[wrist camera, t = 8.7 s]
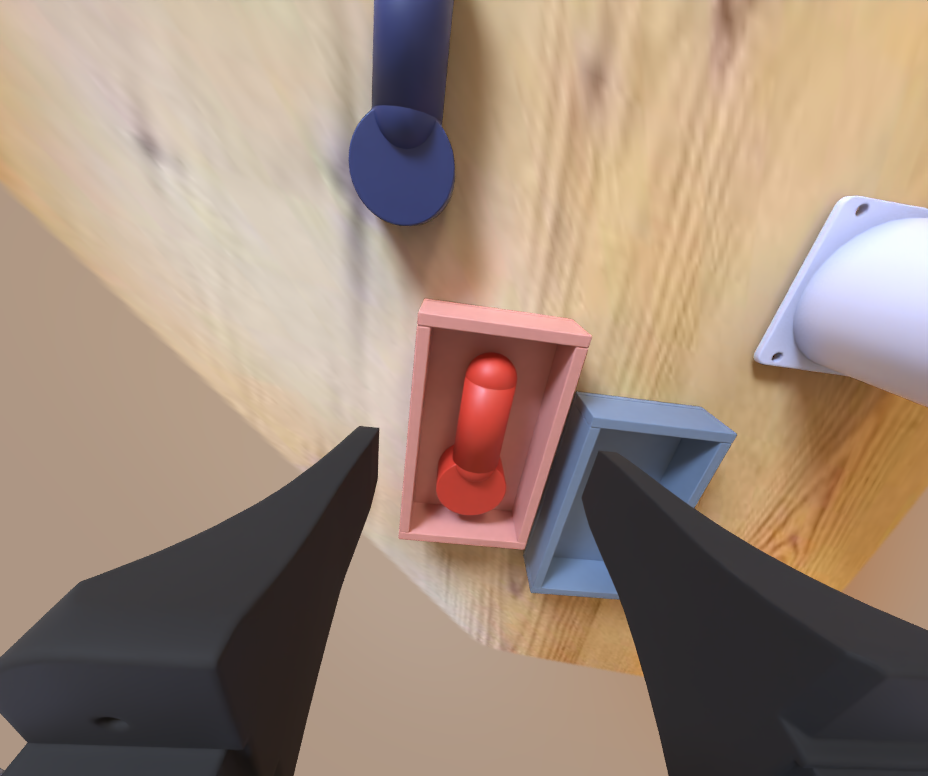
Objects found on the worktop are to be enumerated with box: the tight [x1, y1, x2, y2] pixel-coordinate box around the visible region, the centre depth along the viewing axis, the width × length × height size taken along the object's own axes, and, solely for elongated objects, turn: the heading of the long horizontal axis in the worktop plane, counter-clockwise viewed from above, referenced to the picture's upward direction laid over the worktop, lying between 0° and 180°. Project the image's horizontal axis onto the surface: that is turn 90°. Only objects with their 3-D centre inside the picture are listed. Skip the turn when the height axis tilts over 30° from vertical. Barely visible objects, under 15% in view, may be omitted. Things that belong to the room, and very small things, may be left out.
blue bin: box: [523, 391, 737, 599], centre depth 21 cm, size 14×8×3 cm, turn 172°
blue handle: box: [349, 0, 455, 226], centre depth 12 cm, size 10×4×3 cm, turn 172°
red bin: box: [399, 298, 592, 550], centre depth 19 cm, size 14×8×3 cm, turn 172°
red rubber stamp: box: [436, 352, 517, 515], centre depth 19 cm, size 10×4×3 cm, turn 172°
